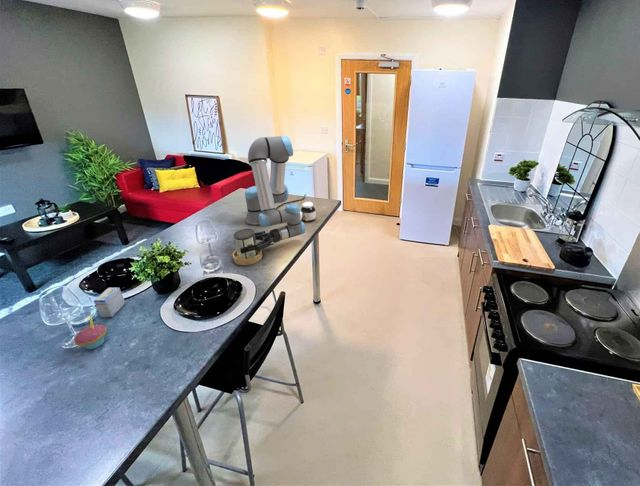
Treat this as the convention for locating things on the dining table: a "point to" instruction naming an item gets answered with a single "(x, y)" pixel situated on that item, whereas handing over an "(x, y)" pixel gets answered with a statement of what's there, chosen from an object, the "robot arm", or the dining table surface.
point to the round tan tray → (248, 260)
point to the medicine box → (109, 302)
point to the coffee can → (245, 242)
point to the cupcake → (91, 335)
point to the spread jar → (307, 212)
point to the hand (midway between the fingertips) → (237, 246)
